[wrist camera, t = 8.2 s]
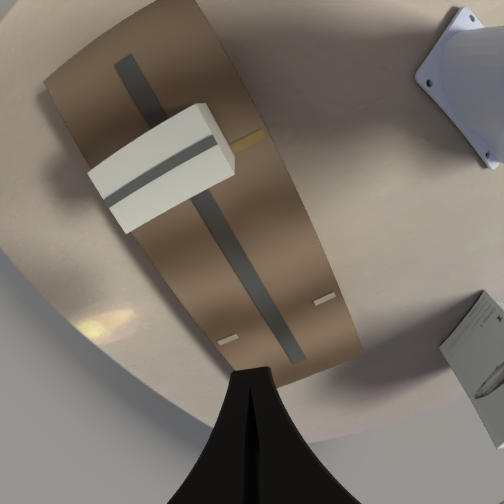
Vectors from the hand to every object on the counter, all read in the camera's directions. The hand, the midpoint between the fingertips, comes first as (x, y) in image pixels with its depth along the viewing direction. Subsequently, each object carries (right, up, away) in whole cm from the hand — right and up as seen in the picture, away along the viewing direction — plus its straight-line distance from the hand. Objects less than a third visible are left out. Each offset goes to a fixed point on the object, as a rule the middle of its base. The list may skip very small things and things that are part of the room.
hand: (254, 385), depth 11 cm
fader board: (-2, +7, +8) cm, 11 cm away
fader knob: (-4, +10, +4) cm, 11 cm away
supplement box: (+22, -3, +14) cm, 27 cm away
